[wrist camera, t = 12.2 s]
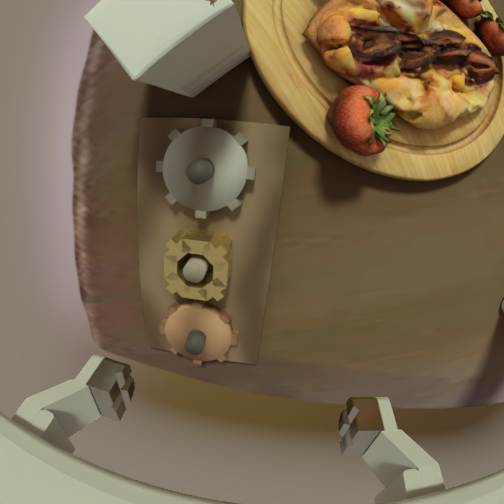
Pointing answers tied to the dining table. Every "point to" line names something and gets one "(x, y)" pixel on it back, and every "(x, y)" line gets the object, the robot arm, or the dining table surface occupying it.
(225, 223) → the gear board
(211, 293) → the brass gear
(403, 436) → the robot arm
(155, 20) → the supplement box
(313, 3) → the wooden plate with food
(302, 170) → the dining table surface
